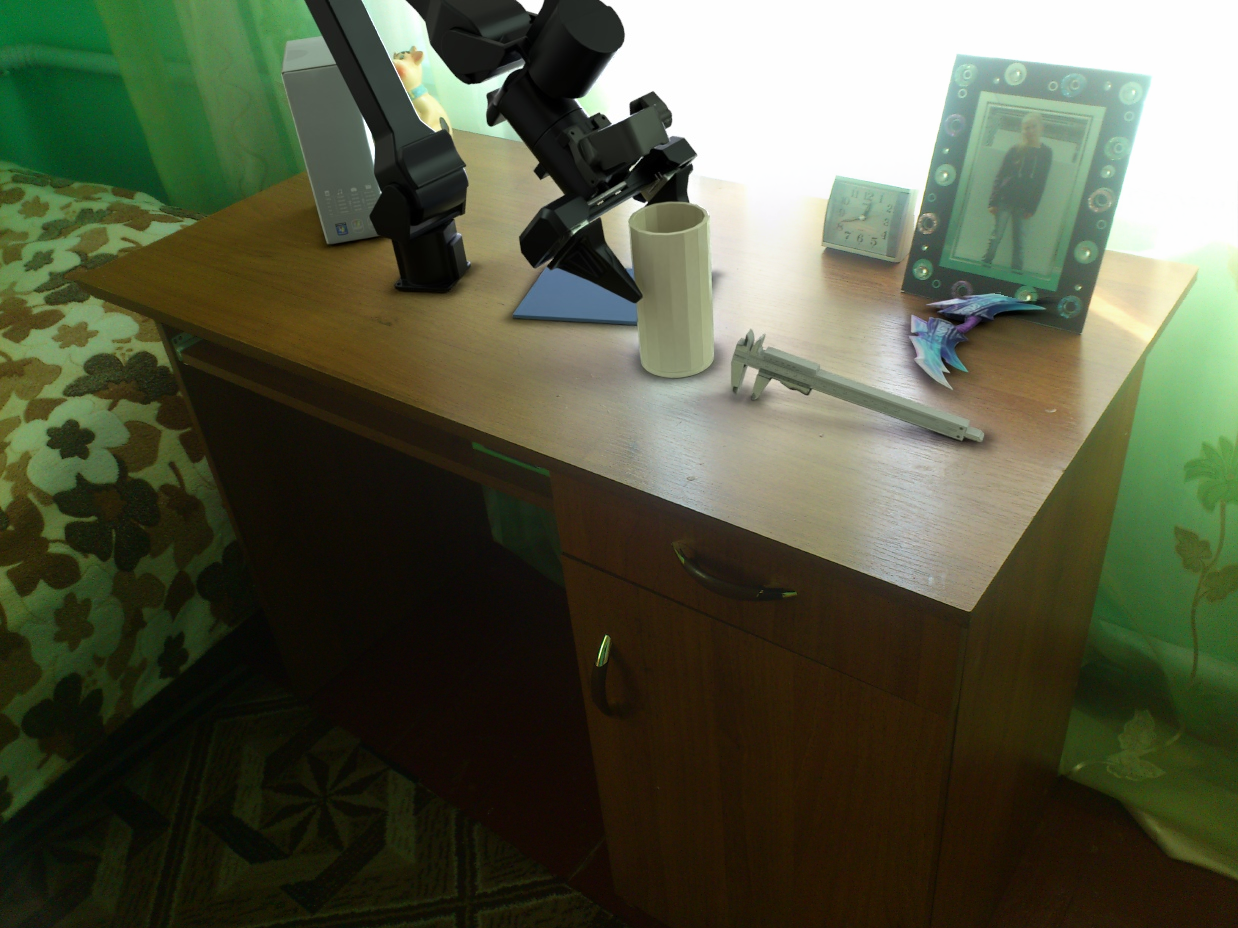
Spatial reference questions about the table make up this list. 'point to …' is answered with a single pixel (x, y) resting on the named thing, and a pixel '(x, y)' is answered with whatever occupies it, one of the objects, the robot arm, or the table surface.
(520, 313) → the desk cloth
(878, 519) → the table surface
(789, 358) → the caliper
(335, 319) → the table surface
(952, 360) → the decorative blades
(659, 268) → the pen cup
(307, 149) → the hard drive box
